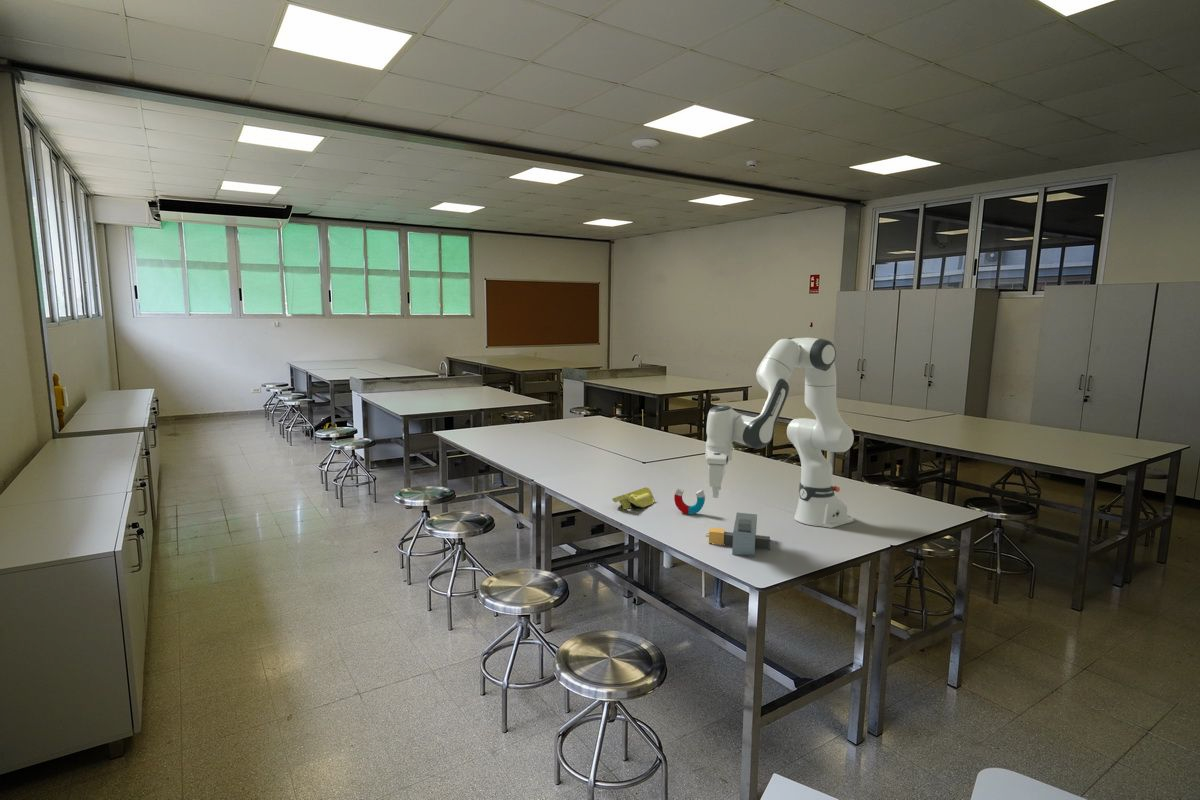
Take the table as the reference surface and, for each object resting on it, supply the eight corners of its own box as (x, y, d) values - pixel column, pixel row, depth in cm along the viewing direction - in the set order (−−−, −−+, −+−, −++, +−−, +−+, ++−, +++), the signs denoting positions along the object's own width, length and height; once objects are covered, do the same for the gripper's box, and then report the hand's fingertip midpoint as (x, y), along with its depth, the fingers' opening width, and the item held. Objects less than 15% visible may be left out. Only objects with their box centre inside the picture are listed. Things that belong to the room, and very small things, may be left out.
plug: (769, 546, 204) (770, 533, 204) (769, 550, 200) (770, 538, 200) (706, 539, 210) (706, 526, 209) (705, 543, 206) (705, 531, 205)
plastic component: (631, 492, 258) (650, 485, 253) (636, 508, 257) (656, 502, 252) (607, 500, 241) (627, 493, 236) (613, 518, 240) (634, 511, 235)
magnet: (704, 514, 237) (705, 489, 236) (703, 516, 235) (704, 491, 233) (674, 510, 241) (675, 486, 239) (673, 512, 238) (674, 488, 237)
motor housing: (756, 536, 213) (757, 507, 212) (754, 557, 194) (755, 526, 193) (735, 534, 215) (737, 505, 214) (732, 554, 196) (733, 523, 195)
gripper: (712, 447, 214) (710, 484, 216) (706, 459, 195) (704, 500, 197) (730, 448, 213) (728, 486, 214) (725, 460, 193) (723, 502, 195)
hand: (716, 493), depth 205 cm, fingers open, 8 cm apart
